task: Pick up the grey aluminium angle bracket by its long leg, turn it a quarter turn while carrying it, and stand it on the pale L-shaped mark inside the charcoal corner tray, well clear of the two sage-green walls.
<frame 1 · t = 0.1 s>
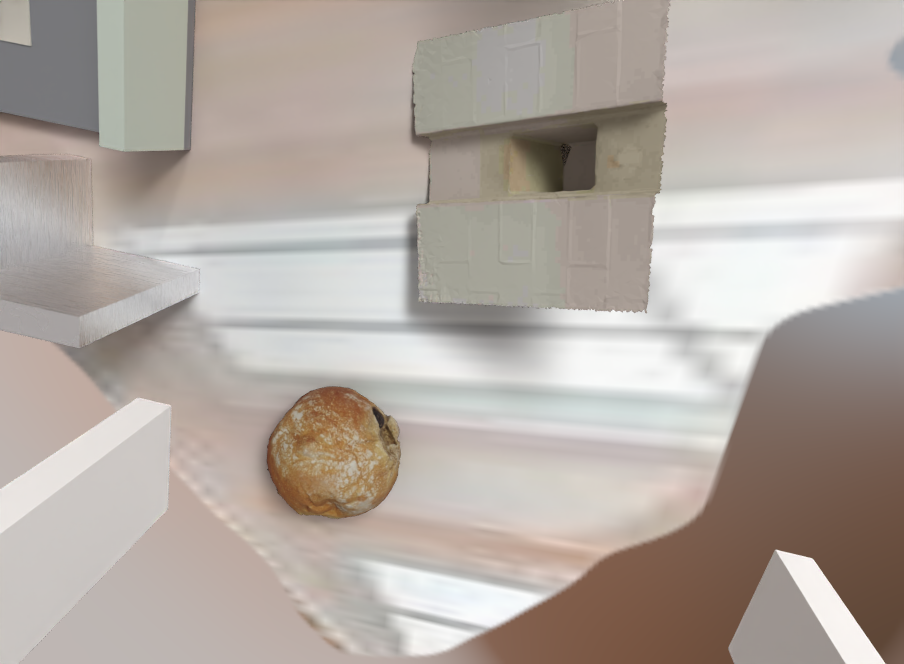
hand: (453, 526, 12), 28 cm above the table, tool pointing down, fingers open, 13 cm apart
angle bracket: (71, 264, 43), on the table
bread roll: (341, 443, 45), on the table
wall: (518, 168, 37), on the table
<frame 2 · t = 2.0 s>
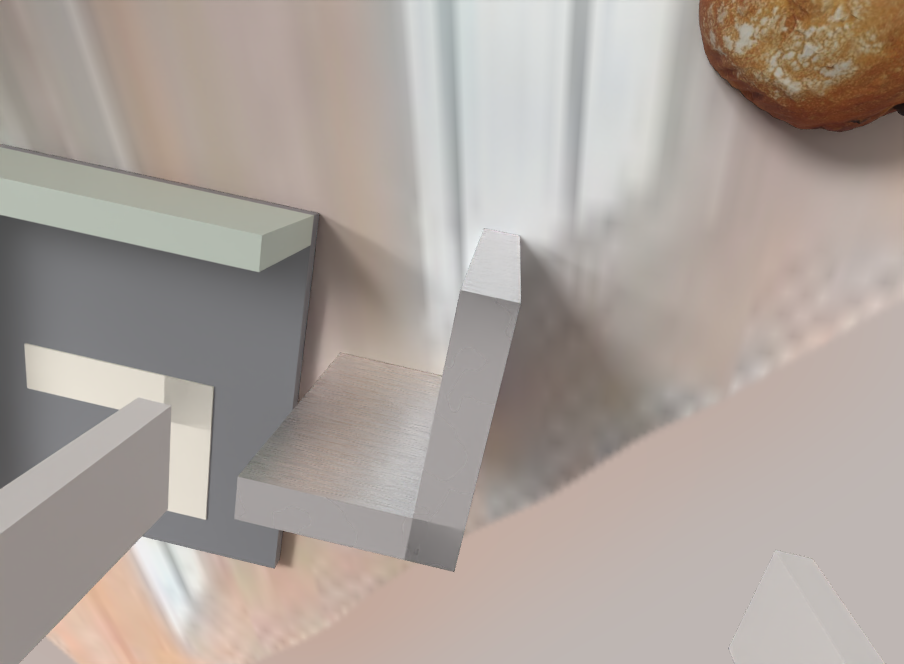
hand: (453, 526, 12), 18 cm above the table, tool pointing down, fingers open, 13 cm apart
angle bracket: (477, 414, 31), on the table
bread roll: (825, 5, 24), on the table
corner tray: (111, 363, 33), on the table
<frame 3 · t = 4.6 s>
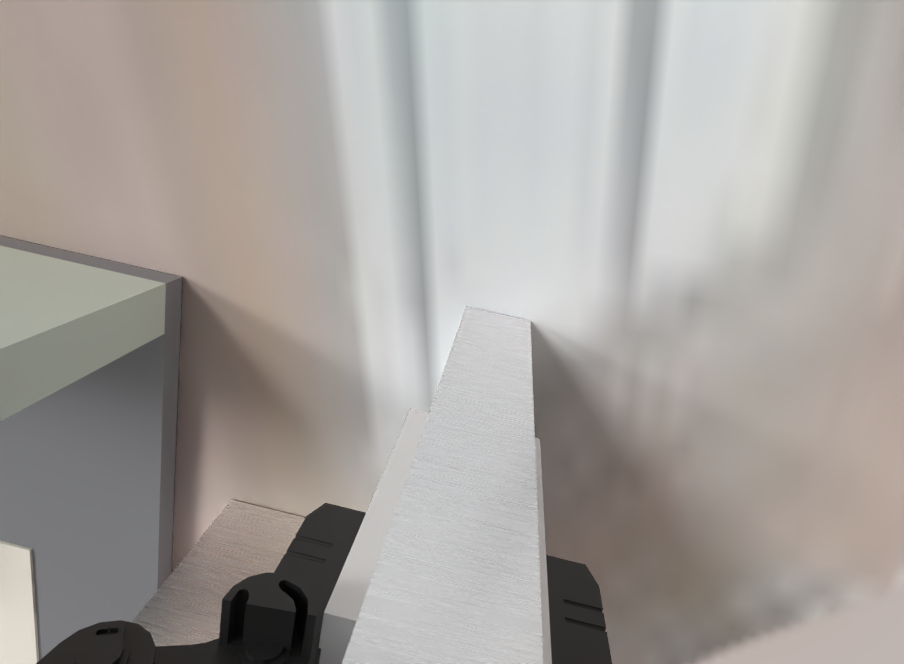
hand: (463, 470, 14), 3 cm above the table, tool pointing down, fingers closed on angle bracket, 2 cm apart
angle bracket: (458, 601, 19), on the table, touching gripper
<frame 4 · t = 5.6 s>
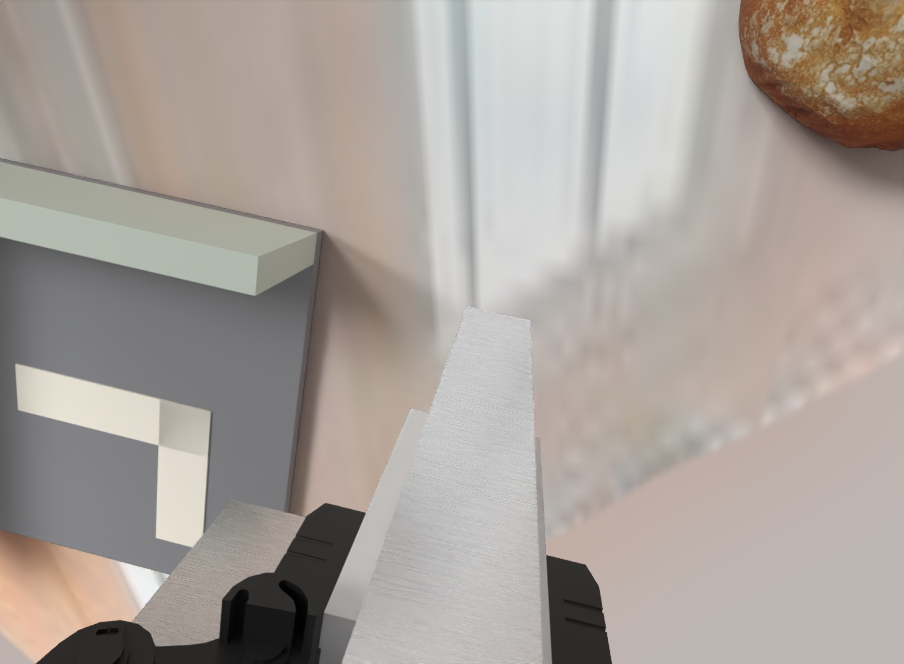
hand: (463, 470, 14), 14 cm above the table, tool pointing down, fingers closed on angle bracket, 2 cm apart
angle bracket: (458, 600, 19), point 11 cm above the table, touching gripper
bread roll: (876, 14, 22), on the table
corner tray: (105, 385, 31), on the table
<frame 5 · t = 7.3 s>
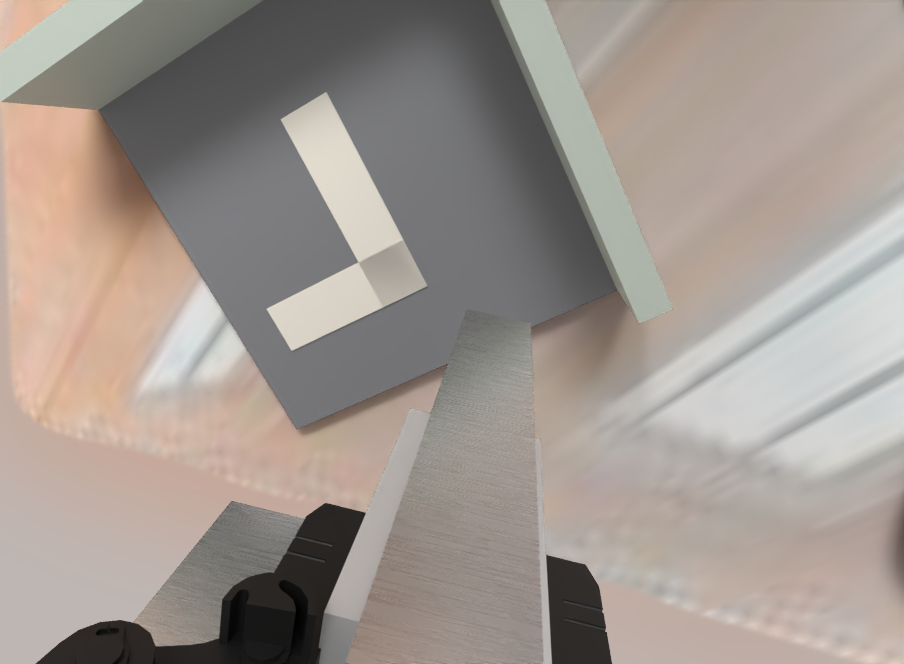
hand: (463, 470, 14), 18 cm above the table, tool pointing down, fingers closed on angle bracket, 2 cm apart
angle bracket: (458, 602, 19), point 16 cm above the table, touching gripper
corner tray: (365, 178, 31), on the table
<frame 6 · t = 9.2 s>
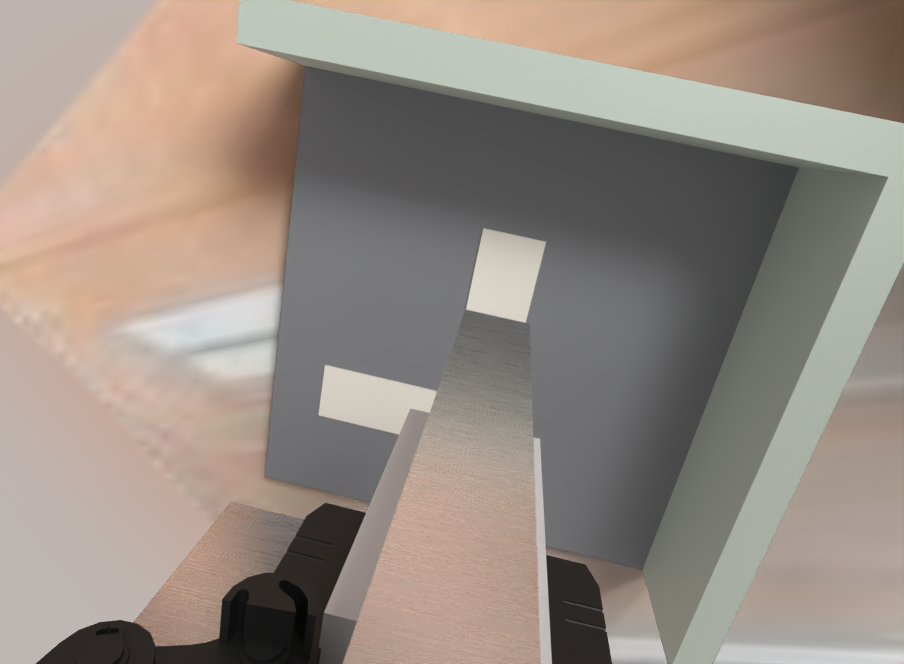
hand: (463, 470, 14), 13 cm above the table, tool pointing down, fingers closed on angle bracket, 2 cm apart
angle bracket: (457, 603, 19), point 11 cm above the table, touching gripper
corner tray: (511, 328, 27), on the table
when the fingers open (4 cm above the table, at t = 11.3 s): angle bracket stays where it is, resting on corner tray.
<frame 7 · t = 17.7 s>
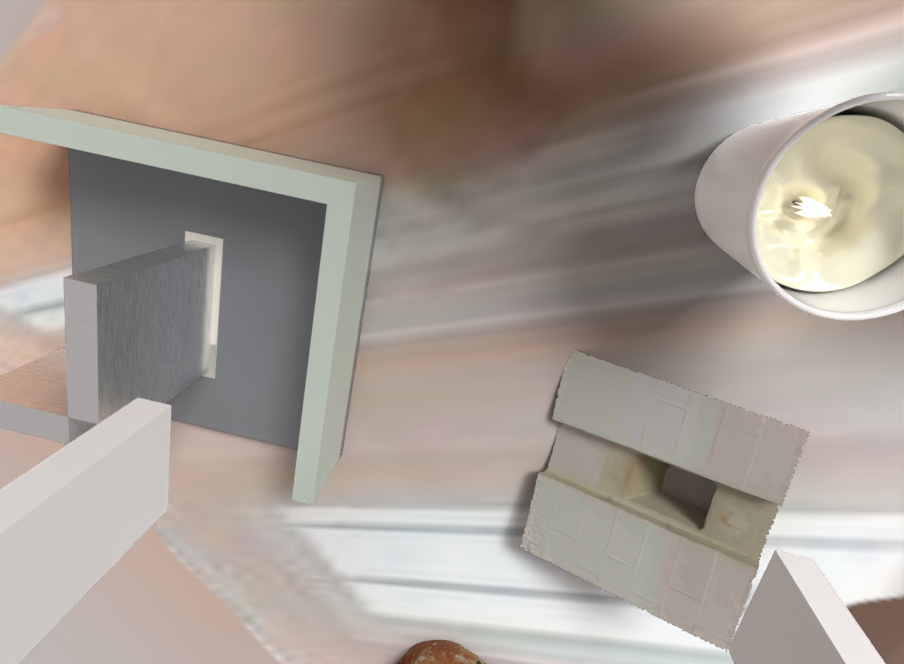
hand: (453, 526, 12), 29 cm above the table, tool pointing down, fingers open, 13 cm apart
angle bracket: (208, 371, 44), point 1 cm above the table, touching corner tray
corner tray: (218, 294, 43), on the table
wall: (628, 457, 43), on the table
candle holder: (761, 190, 36), on the table
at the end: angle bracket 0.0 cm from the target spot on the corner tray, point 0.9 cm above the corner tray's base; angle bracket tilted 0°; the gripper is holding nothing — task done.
